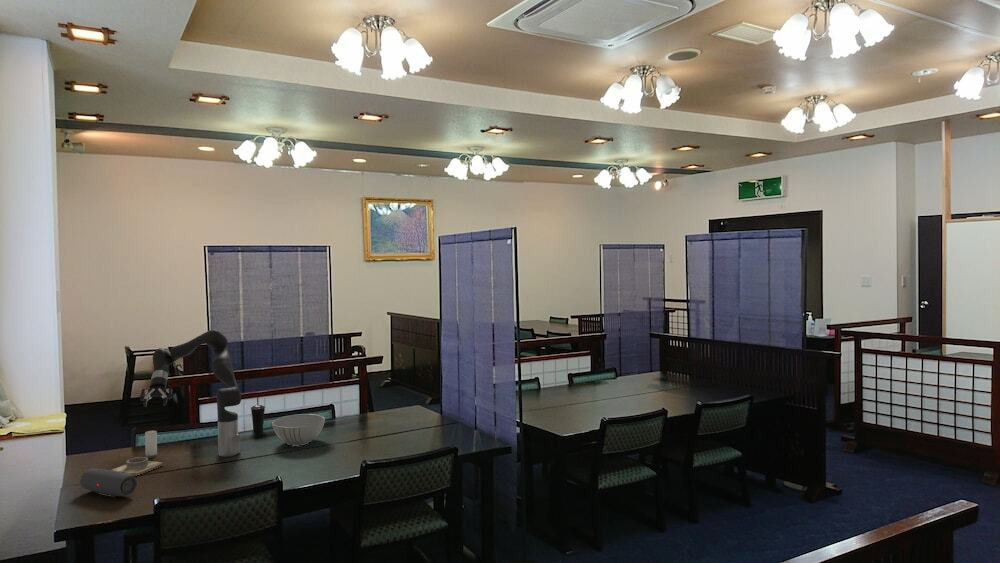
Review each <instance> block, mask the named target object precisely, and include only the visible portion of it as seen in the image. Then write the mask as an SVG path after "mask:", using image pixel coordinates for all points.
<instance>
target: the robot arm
mask: <svg viewBox="0 0 1000 563" xmlns="http://www.w3.org/2000/svg"><path fill="white" fill-rule="evenodd" d="M202 345H207V347H209V348H210V349H212V351H213V353H214V355H215V358H214V359H213V361H212V370H213V374H214V376H215V378H216V379H218V380H219V381H220V382H222V383H224V385H226V386H227V387H225V388H218V389H217V391H216V410H217V445H218V446H217V448H218V449H217V450H218V452H217V453H218V454H217V455H218V456H219V457H227V458H228V457H233V456H236V455H238V454H240V453H241V434H240V433H239V417H238V416H239V415H238V413H237V412H235V411H230V410H227V409H226V407H227V408H228V407H235V406H239V405H240V404H241V402H242V395H241V394H242V393H241V391H240V387H239V386H238V385H239V384H238V382H237V379H236V377H235V372H234V367H233V364H232V360H231V355H230V352H229V344H228V339H227V336H225V335H224V334H223V333H222V332H220V331H219V330H217V329H209V330H207V331H205V332H203V333H202V334H200V335H198V336H196V337H194V338H193V339H190V340H189V341H186V342H184V343H181V344H177V345H175V346H173V347H171V348H170V351H169V352H168V350H166V349H165V348H157V349H155V351H154V352H153V354H152V365H153V370H152V371H153V372H152V374H151V379H150V384H149V388H148V389H145V388H142V390H141V393H140V396H139V399H140V401H141V402H142V405H143V407H144V408H147V406H148V401H149V400H151V399H152V398H162V399H163V400H162V401H163V402H162V406H163V407H165V406H166V405H167V404H168V400H172V397H173V388H172V387H169V388H167V383H168V377H169V376H168V375H169V369H170V368H169V366H171V365H172V364H174V362H176V361H178V360H179V359H183V358H185V357H187V356H190V355H191V354H193V353H194V351H195V350H196V349H197V348H198V347H199V346H202ZM166 393H168V395H167V394H166Z"/></svg>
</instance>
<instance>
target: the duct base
mask: <svg viewBox="0 0 1000 563" xmlns="http://www.w3.org/2000/svg"><path fill="white" fill-rule="evenodd" d="M160 466H162V467H164V462H160V461H152V460H149V458H147V457H145V456H137V457H131V458H130V459H127V460H126V461H125V464H123V465H120V466H118V467H116V468H115V467H114V468H112V469H110V470H111V471H116V472H121V473H125V474H129V475H135V476H137V475H140V474H142V473H145V472H147V473H149V472H148V471H150V472H152V471H154V470H153V469H155V468H157V469H159V468H161V467H160ZM158 467H159V468H158ZM151 470H152V471H151ZM155 470H156V469H155ZM145 474H146V473H145ZM142 475H143V474H142ZM140 476H141V475H140ZM137 477H138V476H137Z"/></svg>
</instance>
